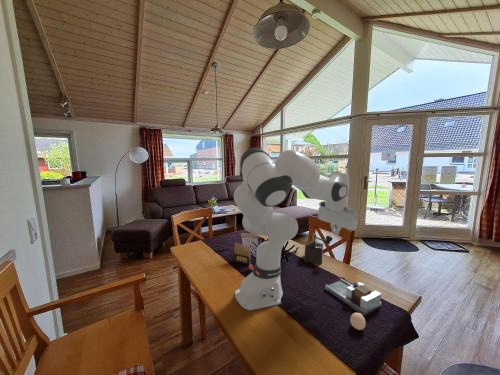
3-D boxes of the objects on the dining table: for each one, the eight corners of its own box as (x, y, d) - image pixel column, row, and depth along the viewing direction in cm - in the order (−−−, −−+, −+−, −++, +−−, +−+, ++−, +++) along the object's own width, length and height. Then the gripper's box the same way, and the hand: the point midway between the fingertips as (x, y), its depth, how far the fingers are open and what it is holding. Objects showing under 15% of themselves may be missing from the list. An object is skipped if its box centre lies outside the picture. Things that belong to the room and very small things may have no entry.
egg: (351, 320, 83) (353, 307, 82) (366, 327, 80) (367, 313, 79) (348, 328, 79) (349, 314, 78) (363, 336, 76) (364, 321, 75)
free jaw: (350, 301, 91) (351, 288, 91) (345, 297, 94) (346, 285, 93) (363, 294, 96) (364, 282, 95) (358, 291, 98) (359, 279, 97)
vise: (363, 316, 85) (365, 302, 84) (324, 289, 102) (325, 276, 101) (381, 306, 90) (382, 293, 90) (341, 282, 108) (342, 270, 107)
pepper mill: (303, 261, 129) (305, 233, 126) (305, 254, 139) (307, 228, 137) (330, 267, 123) (332, 237, 121) (331, 258, 133) (332, 231, 131)
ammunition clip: (250, 263, 126) (251, 244, 124) (249, 265, 124) (249, 245, 123) (235, 259, 131) (235, 241, 129) (233, 261, 129) (233, 242, 127)
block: (363, 306, 89) (364, 293, 88) (353, 299, 93) (355, 287, 92) (370, 302, 91) (371, 290, 90) (360, 296, 95) (361, 284, 94)
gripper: (362, 209, 92) (359, 239, 94) (325, 200, 110) (323, 226, 112) (352, 211, 89) (350, 242, 91) (316, 201, 107) (315, 228, 109)
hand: (335, 233), depth 102 cm, fingers closed
